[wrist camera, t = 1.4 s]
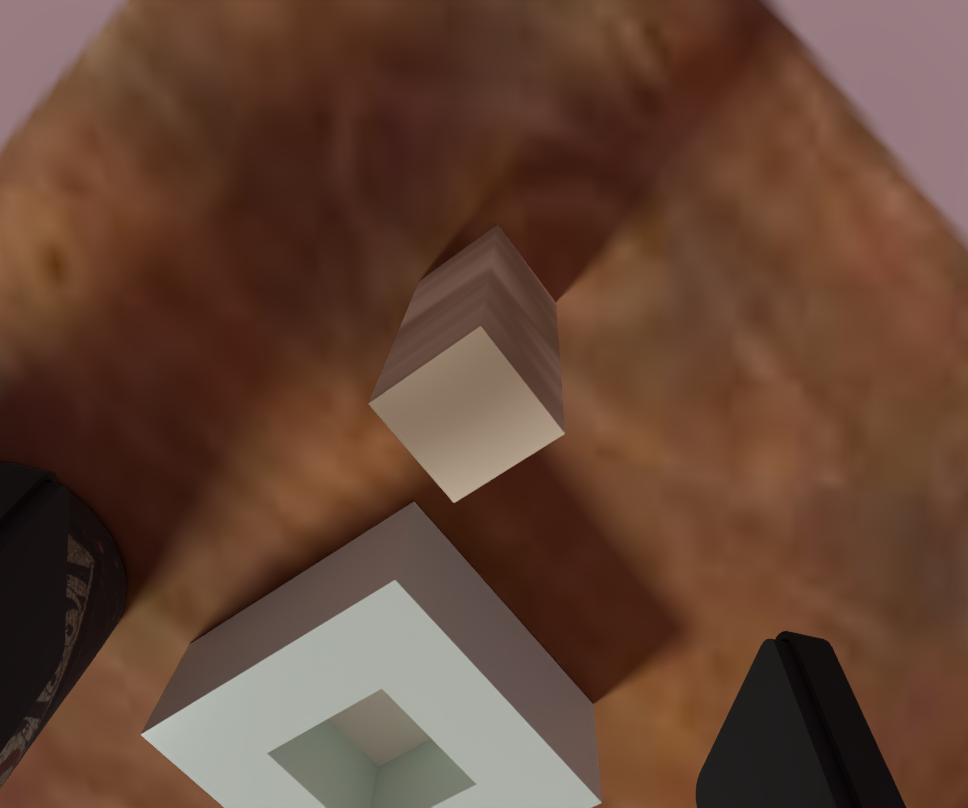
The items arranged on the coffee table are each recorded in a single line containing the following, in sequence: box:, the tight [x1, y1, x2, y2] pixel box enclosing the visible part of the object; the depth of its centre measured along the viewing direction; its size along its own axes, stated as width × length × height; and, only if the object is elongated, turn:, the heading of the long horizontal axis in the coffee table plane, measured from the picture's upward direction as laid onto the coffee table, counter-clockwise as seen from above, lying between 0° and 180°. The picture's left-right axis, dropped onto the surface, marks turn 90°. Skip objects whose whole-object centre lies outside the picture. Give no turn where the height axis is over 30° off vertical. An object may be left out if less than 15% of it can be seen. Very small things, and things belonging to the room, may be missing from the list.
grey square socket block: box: [141, 502, 602, 808], centre depth 31 cm, size 11×11×4 cm
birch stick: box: [368, 224, 565, 503], centre depth 23 cm, size 3×3×9 cm
